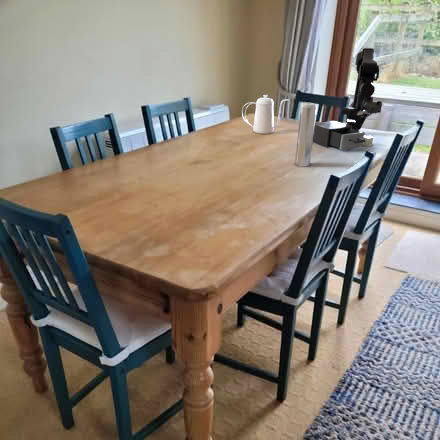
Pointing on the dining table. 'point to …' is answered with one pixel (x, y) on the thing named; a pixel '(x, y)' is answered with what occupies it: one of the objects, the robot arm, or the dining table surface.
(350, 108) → the robot arm
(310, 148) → the silver metal cylinder
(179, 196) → the dining table surface
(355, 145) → the drawer
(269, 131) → the coffeepot
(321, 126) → the grey sliding drawer unit
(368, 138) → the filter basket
